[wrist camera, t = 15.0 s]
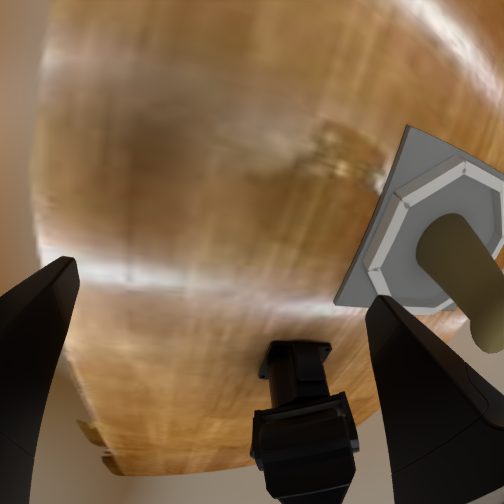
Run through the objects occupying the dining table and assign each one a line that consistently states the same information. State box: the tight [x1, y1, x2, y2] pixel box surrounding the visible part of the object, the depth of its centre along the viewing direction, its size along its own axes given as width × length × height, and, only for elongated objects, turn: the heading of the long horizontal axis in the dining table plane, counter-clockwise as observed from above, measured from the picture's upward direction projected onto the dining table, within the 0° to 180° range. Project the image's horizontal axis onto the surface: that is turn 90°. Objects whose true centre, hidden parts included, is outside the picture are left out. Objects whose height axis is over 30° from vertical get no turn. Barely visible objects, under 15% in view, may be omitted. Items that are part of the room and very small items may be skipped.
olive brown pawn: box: [416, 213, 504, 353], centre depth 18 cm, size 6×6×11 cm
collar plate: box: [334, 125, 504, 315], centre depth 22 cm, size 16×16×2 cm
